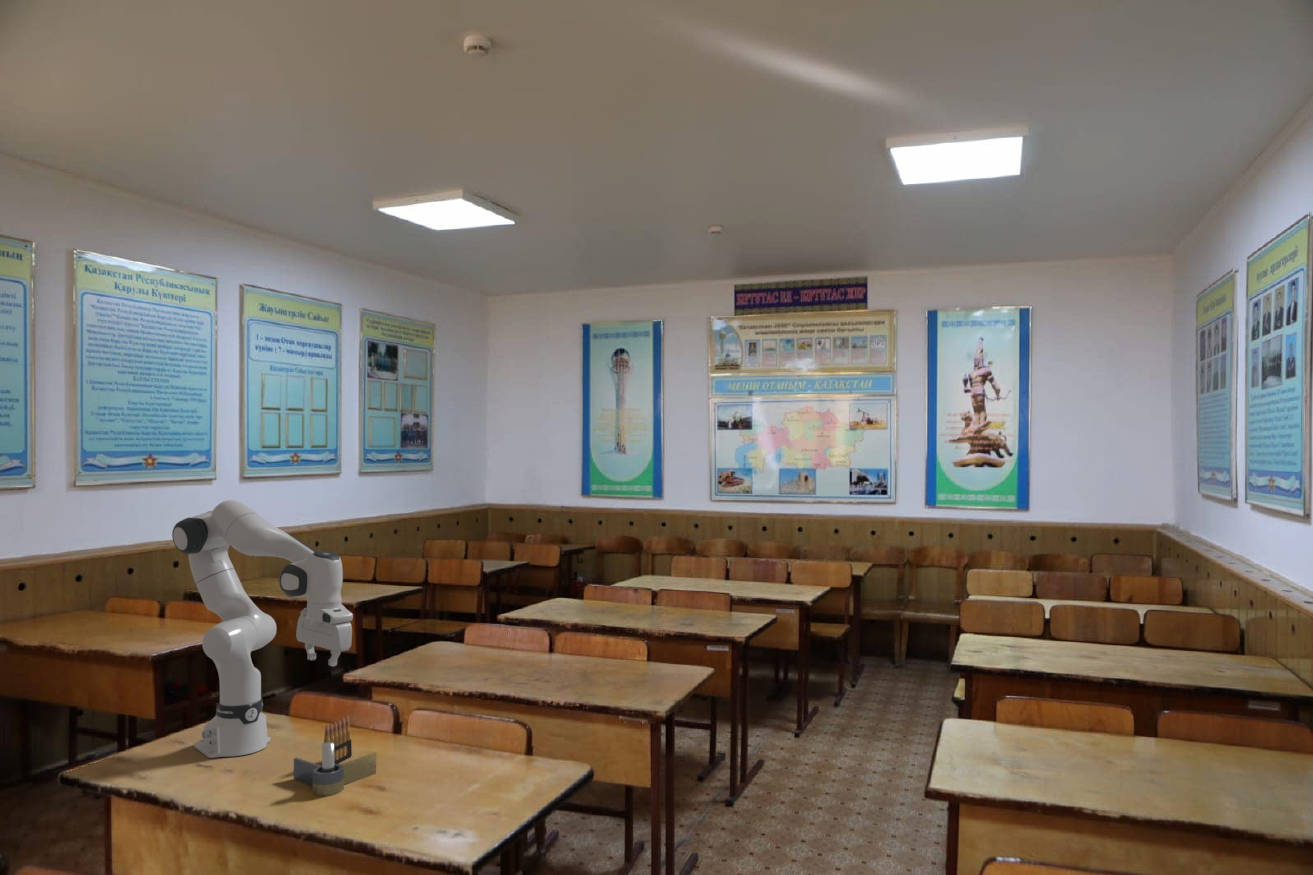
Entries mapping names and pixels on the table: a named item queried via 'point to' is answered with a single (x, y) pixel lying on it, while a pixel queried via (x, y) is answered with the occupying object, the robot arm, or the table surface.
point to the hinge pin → (327, 757)
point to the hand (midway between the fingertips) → (322, 662)
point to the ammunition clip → (339, 739)
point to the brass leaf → (349, 775)
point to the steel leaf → (316, 773)
